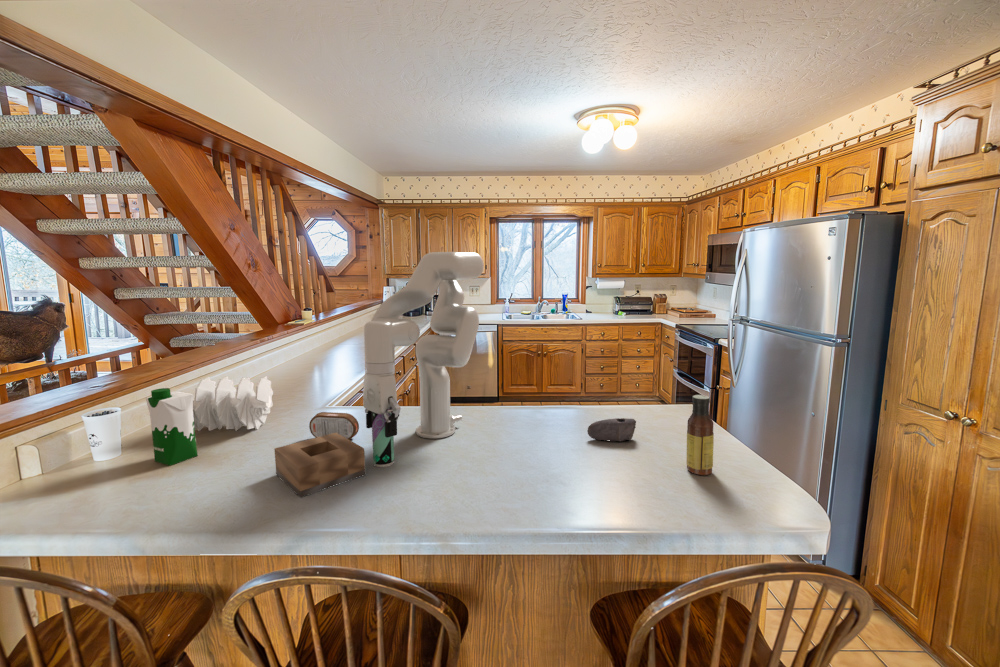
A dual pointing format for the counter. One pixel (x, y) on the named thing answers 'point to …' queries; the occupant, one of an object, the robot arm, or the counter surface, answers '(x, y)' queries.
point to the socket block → (319, 463)
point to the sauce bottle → (700, 437)
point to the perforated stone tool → (612, 429)
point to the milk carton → (172, 426)
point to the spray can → (381, 442)
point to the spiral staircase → (231, 404)
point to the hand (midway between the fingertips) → (381, 431)
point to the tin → (334, 424)
